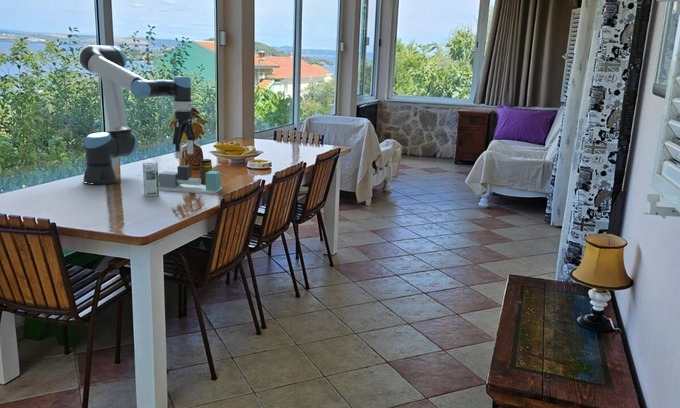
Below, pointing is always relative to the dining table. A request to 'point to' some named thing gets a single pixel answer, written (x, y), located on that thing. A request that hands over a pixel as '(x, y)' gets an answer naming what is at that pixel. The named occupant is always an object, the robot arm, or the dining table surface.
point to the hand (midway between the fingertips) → (184, 156)
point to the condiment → (204, 169)
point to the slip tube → (186, 176)
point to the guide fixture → (169, 184)
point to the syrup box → (151, 179)
